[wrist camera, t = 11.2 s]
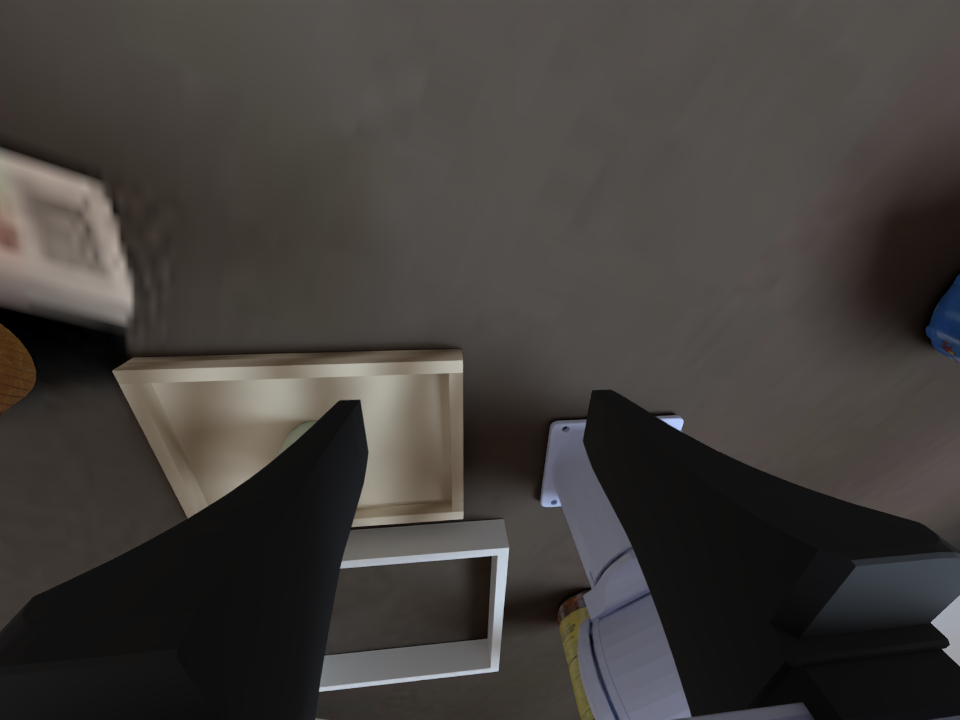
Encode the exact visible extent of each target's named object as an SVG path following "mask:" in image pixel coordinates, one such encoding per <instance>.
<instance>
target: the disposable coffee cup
mask: <svg viewBox="0 0 960 720" xmlns="http://www.w3.org/2000/svg"><path fill="white" fill-rule="evenodd" d="M35 382H36V369H35V366H34V363H33V360H32V358H31V356H30V354H29V352H28V350H27V349H26V348H25V347H24V345H23V344H22V343H21V341H20V340H19V339H18V338H17V337H16V336H15V335H14V334H13V333H11V332H10V331H9V330H8V329H7V328H6V327H4V326H3V325H2V324H0V415H1V414H2V413H3V412H5V411H6V410H8V409H9V408H10V407H12V406H13V405H14V404H16V403H17V402H19V401H20V400H21V399H23V398H24V397H26V396H27V394H28V393H29V392H30V391H31V390H32V388H33V387H34V384H35Z"/></svg>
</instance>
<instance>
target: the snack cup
mask: <svg viewBox="0 0 960 720" xmlns="http://www.w3.org/2000/svg"><path fill="white" fill-rule="evenodd" d="M926 334H927V336H928V337H929V338H931V341H932V346H933V347H934V348H935V349H936V350H938V351H939V352H941V353H942V354H944V355H946V356H947V357H949V358H951V359H952V360H954V361H955V362H957V363H959V364H960V274H959V275H958V276H957V277H956V279H955V281H954V283H953V285H952V286H951V287H950V288H949V290H948V291H947V292H946V293H945V294H944V295H943V297H942V298H941V299H940V301H939V302H938V304H937V306H936V308H935V310H934V312H933V315H932V318H931V322H930V324H929V325H928V326H927V327H926Z"/></svg>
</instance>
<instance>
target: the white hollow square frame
mask: <svg viewBox="0 0 960 720" xmlns="http://www.w3.org/2000/svg"><path fill="white" fill-rule="evenodd" d="M508 553H509V545H508V540H507V534H506V529H505V523H504V519H497V520H483V521H469V522H455V523H442V524H428V525H414V526H401V527H387V528H373V529H359V530H350V534H349V537H348V541H347V544H346V547H345V551H344V554H343V558H342V563H341V567H340V568H352V567H364V566H376V565H388V564H400V563H412V562H425V561H437V560H449V559H461V558H473V557H485V556H492V562H491V581H490V600H489V618H488V637H487V639H479V640H470V641H460V642H450V643H441V644H431V645H422V646H412V647H403V648H393V649H384V650H374V651H365V652H355V653H345V654H336V655H326V656H324V662H323V668H322V675H321V681H320V688H319V692H321V691H330V690H338V689H347V688H356V687H365V686H373V685H382V684H391V683H400V682H409V681H417V680H426V679H435V678H444V677H453V676H461V675H470V674H479V673H488V672H496V671H498V670H499V658H500V646H501V635H502V623H503V611H504V600H505V588H506V577H507V565H508Z"/></svg>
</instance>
